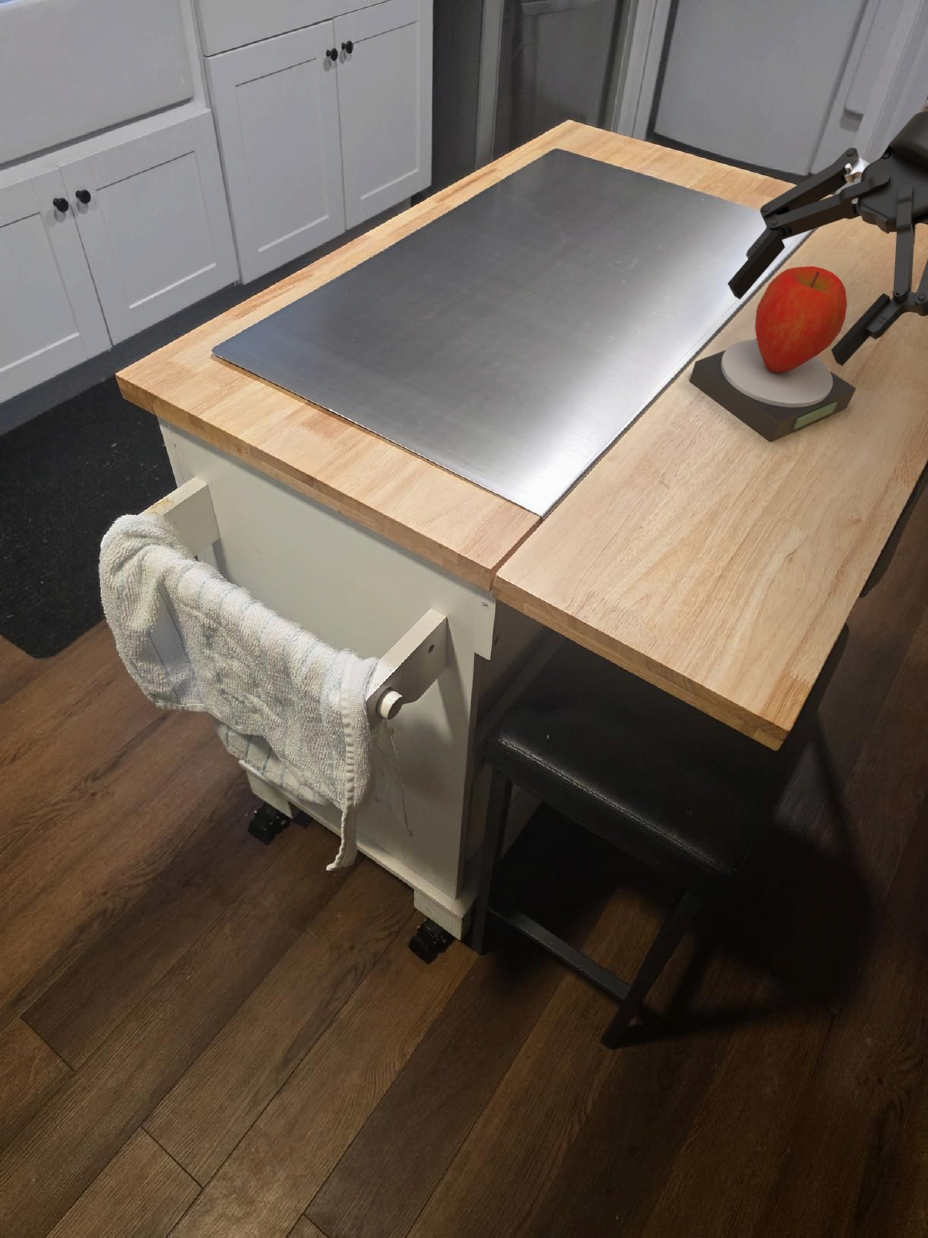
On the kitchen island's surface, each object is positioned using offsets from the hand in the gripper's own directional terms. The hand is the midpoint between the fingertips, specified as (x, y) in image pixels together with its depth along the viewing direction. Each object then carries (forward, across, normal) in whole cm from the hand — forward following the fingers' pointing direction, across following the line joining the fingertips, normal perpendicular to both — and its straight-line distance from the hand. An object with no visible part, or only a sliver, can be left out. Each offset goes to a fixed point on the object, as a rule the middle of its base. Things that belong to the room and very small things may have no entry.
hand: (782, 323), depth 86 cm
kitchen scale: (+5, 0, -8) cm, 9 cm away
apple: (+3, 0, -6) cm, 7 cm away
